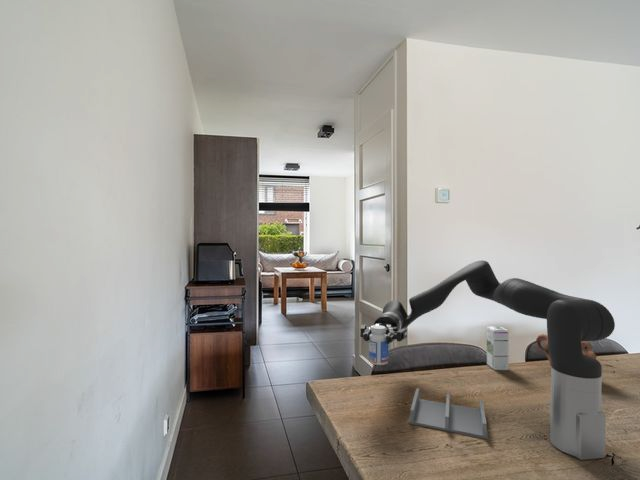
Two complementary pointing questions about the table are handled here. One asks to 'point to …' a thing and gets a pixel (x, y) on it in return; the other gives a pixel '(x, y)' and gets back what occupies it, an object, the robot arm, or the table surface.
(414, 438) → the table surface
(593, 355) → the decorative planter
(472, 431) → the dish rack
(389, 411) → the table surface
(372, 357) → the pill bottle
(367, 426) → the table surface
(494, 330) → the syrup box
